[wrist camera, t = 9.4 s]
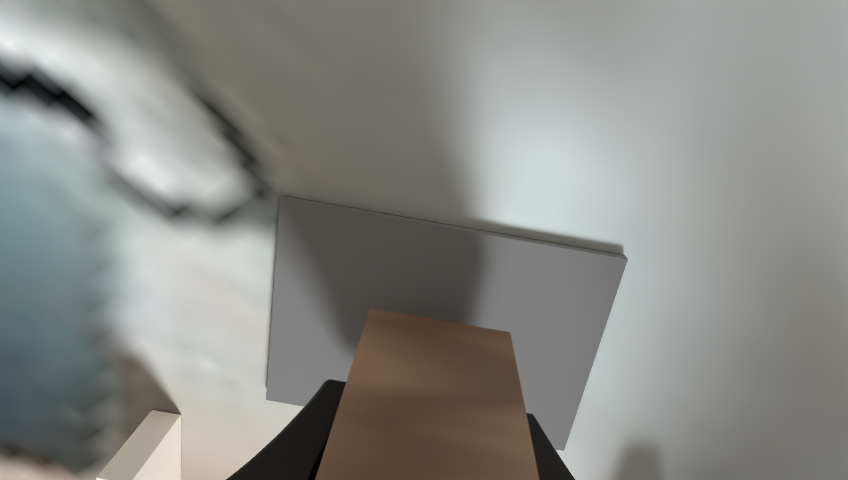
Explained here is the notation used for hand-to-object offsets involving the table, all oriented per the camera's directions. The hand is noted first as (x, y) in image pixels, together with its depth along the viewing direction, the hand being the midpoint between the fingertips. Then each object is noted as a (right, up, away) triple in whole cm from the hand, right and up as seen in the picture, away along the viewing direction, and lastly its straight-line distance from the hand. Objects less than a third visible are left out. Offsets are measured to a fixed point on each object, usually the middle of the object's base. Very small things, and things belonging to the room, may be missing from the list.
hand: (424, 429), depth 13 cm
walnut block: (0, +1, +2) cm, 2 cm away
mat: (0, +2, +4) cm, 4 cm away
